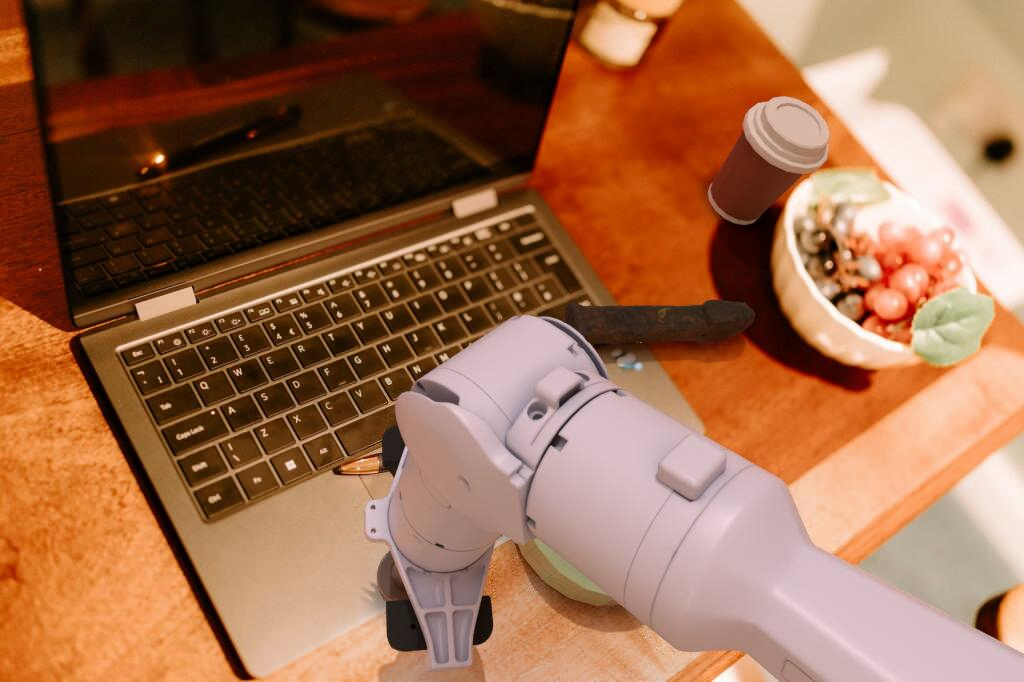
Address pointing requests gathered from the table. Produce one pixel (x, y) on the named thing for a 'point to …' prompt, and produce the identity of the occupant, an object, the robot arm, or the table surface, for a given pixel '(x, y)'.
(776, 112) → the coffee cup
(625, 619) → the table surface
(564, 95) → the table surface
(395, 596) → the masher
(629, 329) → the hand tool
